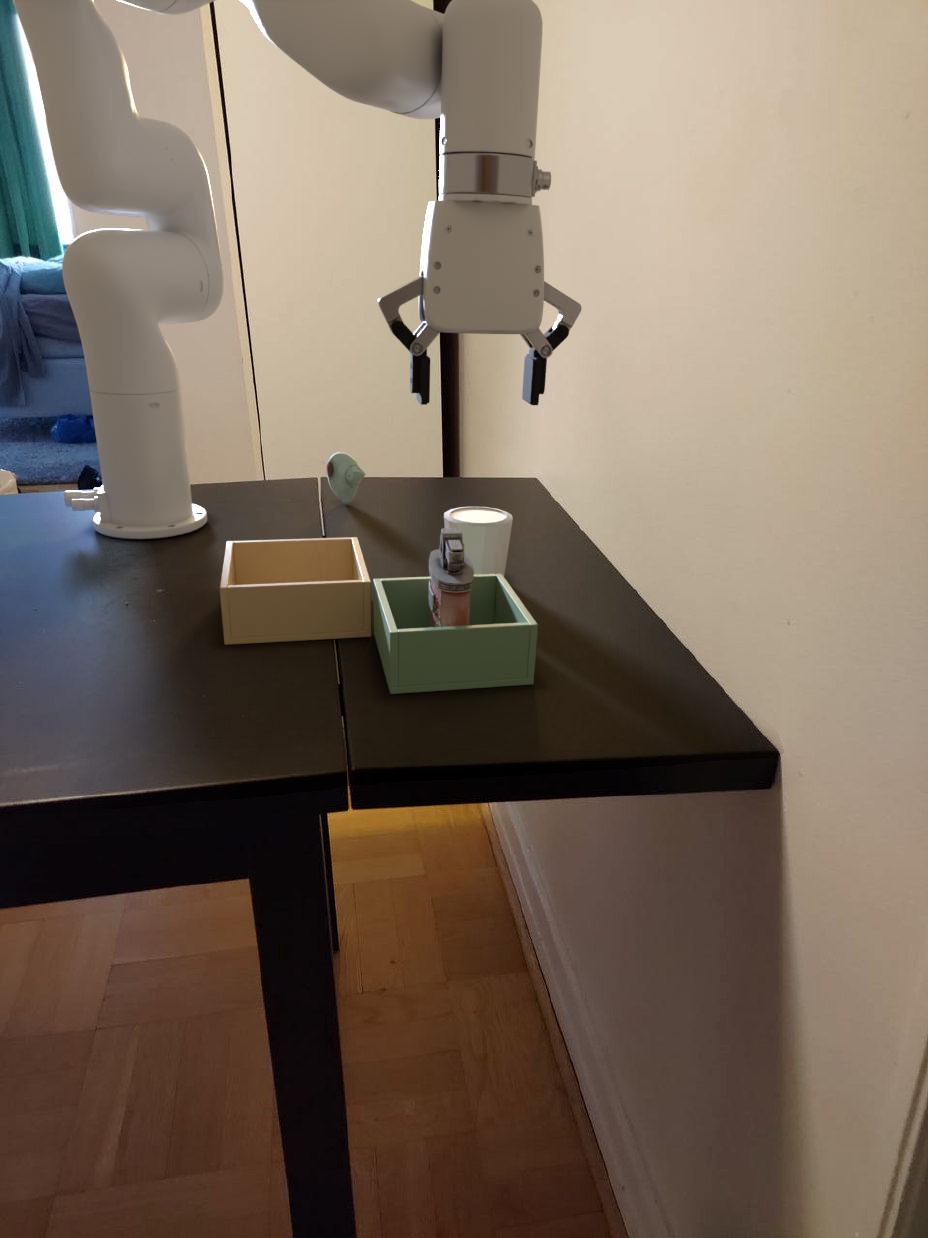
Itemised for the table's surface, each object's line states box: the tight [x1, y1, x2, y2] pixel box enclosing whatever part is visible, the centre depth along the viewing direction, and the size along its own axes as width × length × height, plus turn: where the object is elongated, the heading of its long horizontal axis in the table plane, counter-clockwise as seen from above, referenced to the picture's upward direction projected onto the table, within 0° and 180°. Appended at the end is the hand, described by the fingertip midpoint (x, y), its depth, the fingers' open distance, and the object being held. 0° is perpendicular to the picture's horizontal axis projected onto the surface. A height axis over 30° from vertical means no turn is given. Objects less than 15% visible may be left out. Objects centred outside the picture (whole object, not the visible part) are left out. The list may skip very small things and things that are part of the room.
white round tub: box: [443, 506, 514, 577], centre depth 85 cm, size 7×7×7 cm
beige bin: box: [219, 536, 372, 646], centre depth 76 cm, size 12×12×5 cm
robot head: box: [325, 451, 367, 504], centre depth 110 cm, size 8×4×7 cm, turn 31°
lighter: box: [428, 527, 474, 628], centre depth 68 cm, size 8×3×10 cm, turn 7°
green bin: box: [372, 574, 539, 695], centre depth 69 cm, size 11×11×5 cm
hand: (477, 402), depth 75 cm, fingers open, 9 cm apart
